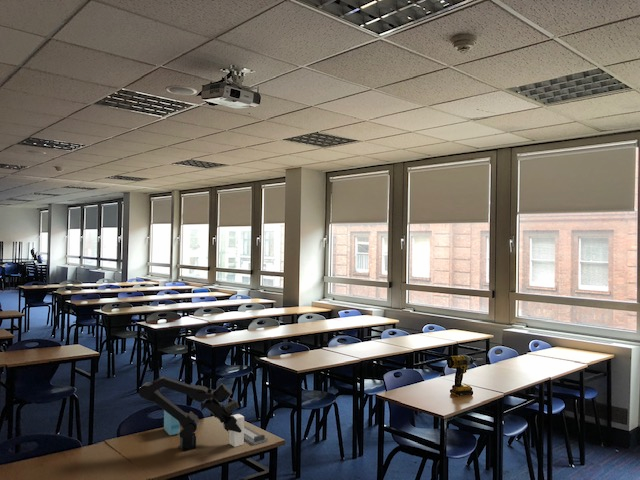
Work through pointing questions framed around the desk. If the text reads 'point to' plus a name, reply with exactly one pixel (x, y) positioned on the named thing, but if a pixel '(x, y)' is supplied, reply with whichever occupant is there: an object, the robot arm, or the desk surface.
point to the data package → (170, 424)
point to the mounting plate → (253, 436)
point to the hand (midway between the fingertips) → (239, 429)
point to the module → (237, 437)
